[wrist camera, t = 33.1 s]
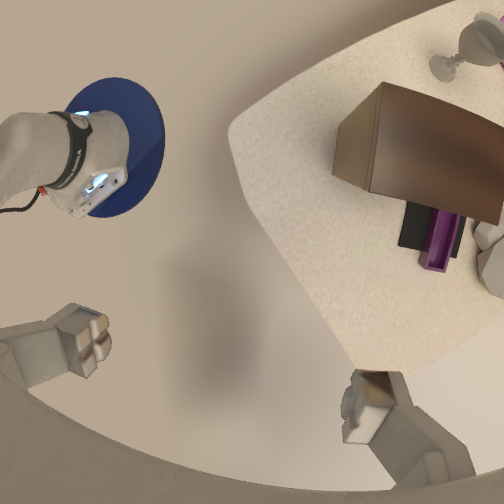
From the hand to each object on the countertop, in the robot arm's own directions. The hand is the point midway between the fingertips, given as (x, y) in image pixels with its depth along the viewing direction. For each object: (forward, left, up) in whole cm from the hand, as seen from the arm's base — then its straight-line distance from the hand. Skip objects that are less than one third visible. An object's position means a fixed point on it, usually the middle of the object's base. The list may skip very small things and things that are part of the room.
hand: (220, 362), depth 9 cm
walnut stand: (+15, -3, -39) cm, 42 cm away
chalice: (+36, +2, -39) cm, 53 cm away
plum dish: (+21, -16, -39) cm, 47 cm away
